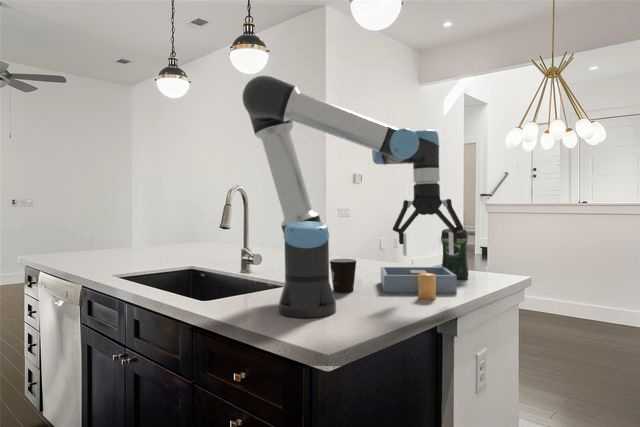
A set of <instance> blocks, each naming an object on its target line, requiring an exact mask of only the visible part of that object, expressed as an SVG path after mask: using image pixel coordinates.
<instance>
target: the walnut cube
mask: <svg viewBox="0 0 640 427" xmlns="http://www.w3.org/2000/svg"><path fill="white" fill-rule="evenodd" d="M421 273H427V272H426V271H425V270H409V275H418V274H421Z"/></svg>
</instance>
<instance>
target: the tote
mask: <svg viewBox="0 0 640 427" xmlns="http://www.w3.org/2000/svg"><path fill="white" fill-rule="evenodd" d="M409 270H425V271H426V272H427V273H431V274H435V275H436V294H457V290H458V287H457V286H458V283H457V282H458V281H457V280H458V279H457V276H456V275H455V274H454V273H452V272H451V271H449V270H448V269H446V268H445V267H442V266H380V285H381V284H382V285H381V286H382V290H383V293H384V294H418V275H409Z"/></svg>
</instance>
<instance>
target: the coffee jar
mask: <svg viewBox="0 0 640 427" xmlns="http://www.w3.org/2000/svg"><path fill="white" fill-rule="evenodd" d="M449 232H451V230H450V229H449V228H445V229H442V231H441V236H440V241H441V244H442V260H441V267H445V268H446V269H448V270H449V271H451V272H452V273H454V274H455V275H456V276H457V280H464V279H467V278H469V266H468V257H467V243H468V240H469V238H468V231H467V230H466V228H465V229H464V228H463V230H460V231H458V232H457V242H456V243H453V249H454V255H450V254H449Z"/></svg>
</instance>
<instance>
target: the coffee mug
mask: <svg viewBox="0 0 640 427" xmlns="http://www.w3.org/2000/svg"><path fill="white" fill-rule="evenodd" d="M329 267H330V274H331V281H332V282H331V283H332V292H333V293H337V294H349V293H350V294H351V293H353V292H354V287H355V286H354V285H355V279H356V278H355V277H356V267H357V259H355V258H333V259H329Z"/></svg>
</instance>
